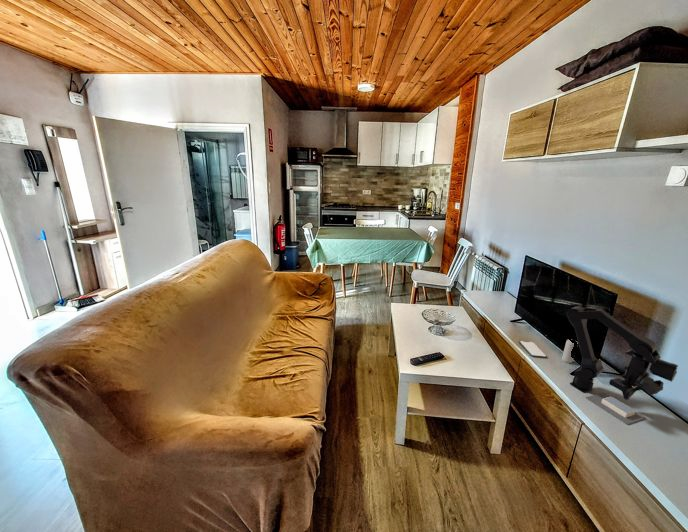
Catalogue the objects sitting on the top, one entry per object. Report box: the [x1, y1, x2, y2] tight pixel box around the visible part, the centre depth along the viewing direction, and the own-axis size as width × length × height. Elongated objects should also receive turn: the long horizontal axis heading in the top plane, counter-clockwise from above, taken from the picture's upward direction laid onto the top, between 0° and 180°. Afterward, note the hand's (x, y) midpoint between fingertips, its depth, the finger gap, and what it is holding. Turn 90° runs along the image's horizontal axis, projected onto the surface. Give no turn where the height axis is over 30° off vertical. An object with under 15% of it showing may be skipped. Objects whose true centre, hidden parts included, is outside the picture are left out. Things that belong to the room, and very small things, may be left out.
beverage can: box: [561, 338, 574, 364], centre depth 162 cm, size 5×5×12 cm
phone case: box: [518, 340, 548, 359], centre depth 173 cm, size 9×2×16 cm
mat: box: [585, 392, 647, 425], centre depth 129 cm, size 16×12×1 cm
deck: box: [601, 396, 637, 418], centre depth 128 cm, size 9×2×6 cm
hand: (626, 399), depth 128 cm, fingers closed
